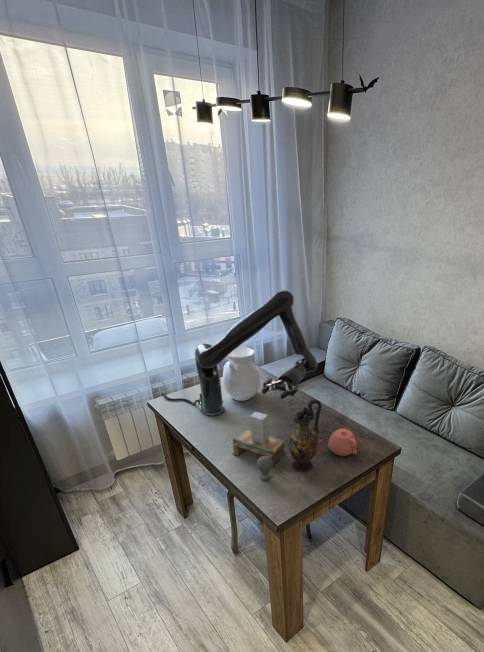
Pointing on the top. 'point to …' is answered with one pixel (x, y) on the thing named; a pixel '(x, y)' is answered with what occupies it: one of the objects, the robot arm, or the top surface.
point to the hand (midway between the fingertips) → (272, 394)
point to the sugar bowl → (342, 442)
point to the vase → (304, 437)
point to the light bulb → (265, 466)
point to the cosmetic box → (259, 427)
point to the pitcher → (241, 374)
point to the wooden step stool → (259, 446)
